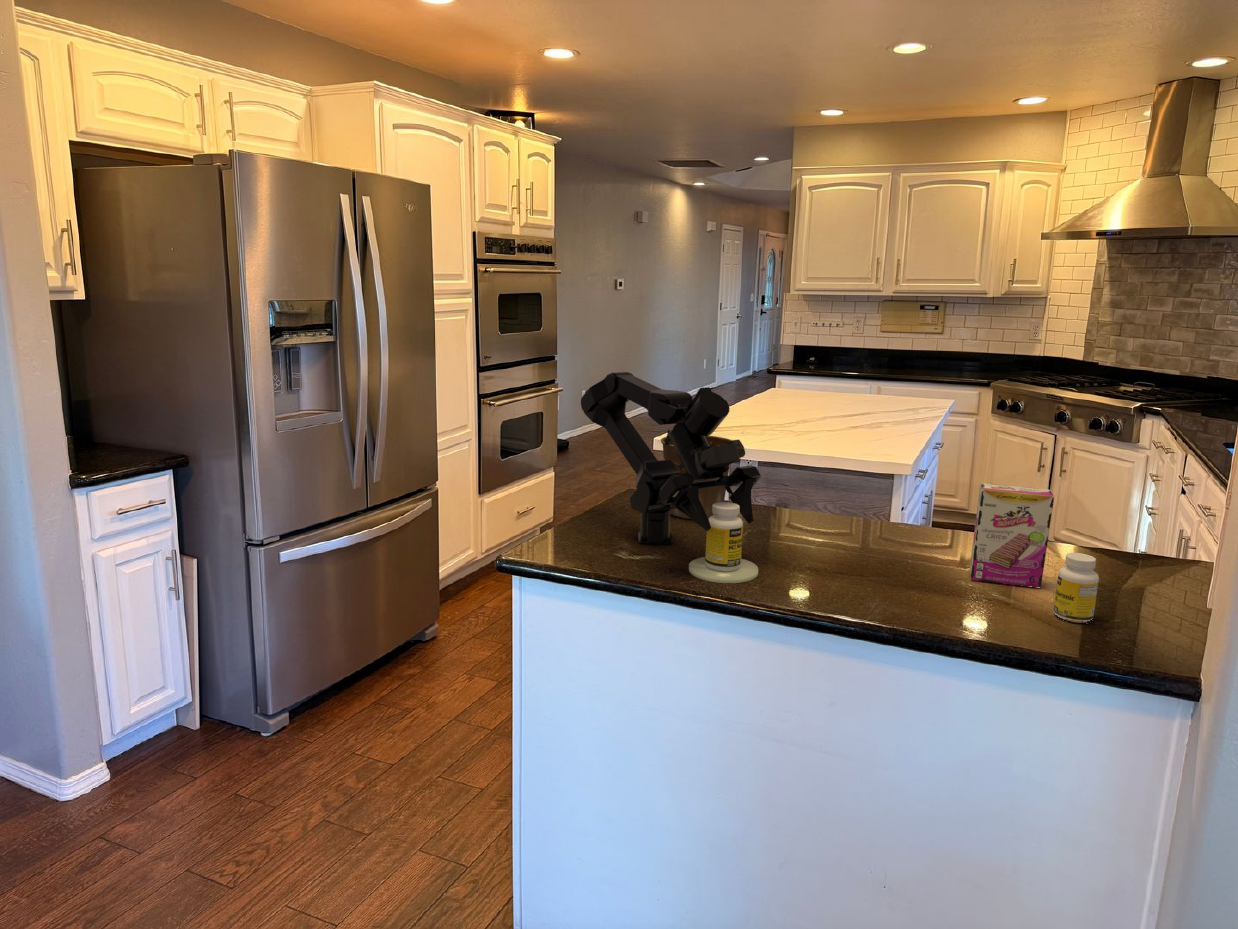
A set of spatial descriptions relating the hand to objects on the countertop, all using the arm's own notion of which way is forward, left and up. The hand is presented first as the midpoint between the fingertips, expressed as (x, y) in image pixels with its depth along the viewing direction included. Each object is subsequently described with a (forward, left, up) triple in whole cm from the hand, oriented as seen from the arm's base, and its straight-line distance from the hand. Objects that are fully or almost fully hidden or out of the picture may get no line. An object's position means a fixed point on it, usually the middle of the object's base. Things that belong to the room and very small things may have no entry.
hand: (730, 526), depth 142 cm
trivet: (-1, -1, -9) cm, 9 cm away
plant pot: (-39, -2, -9) cm, 40 cm away
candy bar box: (+2, +47, -9) cm, 48 cm away
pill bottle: (-1, -1, -8) cm, 8 cm away
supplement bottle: (+18, +50, -9) cm, 54 cm away
